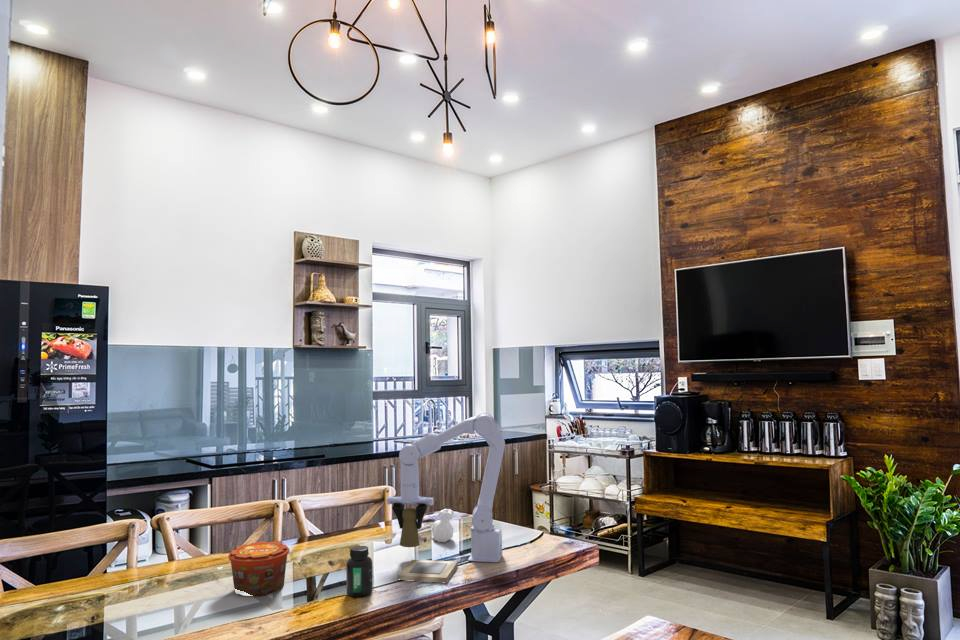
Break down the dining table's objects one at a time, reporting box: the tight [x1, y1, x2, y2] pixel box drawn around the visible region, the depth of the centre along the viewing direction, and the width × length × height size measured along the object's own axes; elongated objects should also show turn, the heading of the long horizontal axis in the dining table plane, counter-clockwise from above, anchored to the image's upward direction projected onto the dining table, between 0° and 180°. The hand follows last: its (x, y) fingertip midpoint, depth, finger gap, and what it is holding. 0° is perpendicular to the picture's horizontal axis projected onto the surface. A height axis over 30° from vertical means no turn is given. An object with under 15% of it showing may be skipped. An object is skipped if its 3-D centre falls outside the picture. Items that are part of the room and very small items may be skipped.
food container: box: [227, 541, 290, 597], centre depth 182 cm, size 16×16×11 cm
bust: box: [431, 508, 455, 543], centre depth 225 cm, size 12×8×11 cm
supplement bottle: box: [345, 545, 374, 599], centre depth 176 cm, size 7×7×12 cm
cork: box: [399, 507, 420, 548], centre depth 205 cm, size 6×6×11 cm
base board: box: [397, 559, 459, 584], centre depth 191 cm, size 14×14×2 cm
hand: (410, 528), depth 205 cm, fingers closed on cork, 5 cm apart
